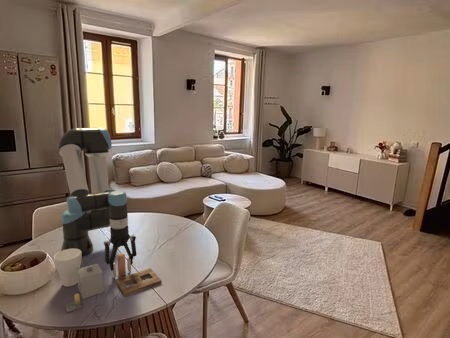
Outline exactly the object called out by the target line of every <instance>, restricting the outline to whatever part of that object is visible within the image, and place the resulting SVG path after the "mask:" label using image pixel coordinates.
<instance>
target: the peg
mask: <svg viewBox="0 0 450 338" xmlns="http://www.w3.org/2000/svg"><path fill="white" fill-rule="evenodd" d="M116 256H117V259H116V260H117V272H118V273H117V275H118V277H119V278H121V277H124V276H127V274H126V273H127V272H126V255H125V253H118V254H116Z"/></svg>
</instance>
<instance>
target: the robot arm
mask: <svg viewBox="0 0 450 338" xmlns="http://www.w3.org/2000/svg"><path fill="white" fill-rule="evenodd" d="M57 148H58V153H59V155H60V156H61V158H62V162H63V166H64V171H65V177H66V181H67V185H68V191H69V196H67V198H66V207H67V208H66V210H64V211H63V213H61V221H60V222H61V225H62V226H61V227H62V235H63V237H62V238H63V241H62V244H61V249H60V251H63V250H66V249H79V250H81V252H82V257H84V256H87V255H88V254H90V253H92V252H93V251H94V245H93V241H92V240H91V238H90V235H89V231H96V230H99V229H104V228H109V231H110V238H109V240H107V241H103V245H104V262H105V264H106V265H109V269H110V271H111V272H112V276H113V277H114V278H117V269H116V267H117V266H116V263H115V259H116V256H117V251H118V249H119V248H120V247H123V248H124V249H125V252H126V254H127V257H126V267H127V271H128V272H129V273H130V274H131V273H132V265H133V264H134V262H133V260H134V257H136V256H137V247H136V239H137V237H136V236H135V235H134V234H131V235H130V234H129V231H130V230H129V226H128V225H129V219H128V218H129V217H128V197H127V192H126V191H124V190H123V191H122V190H115V189H113V188H112V189H111V188H110V187H109V174H108V166H107V165H108V164H107V163H108V162H107V156H108V154H109V150H111V149H112V139H111V135H110V132H109V131H108V129H107V128H105V127H76V128H71V129H69V130H67V131H65V133H63V135H62V136H61V137H60V139H59V142H58V147H57ZM82 151H83V152H84V154H85V156H86V157H88V165H89V177H90V187H91V188H90V189H91V193H90V190H89V186H88V183H87V178H86V175H85V174H86V173H85V171H84V167H83V162H82V159H81V153H82ZM129 240H130V246H131V250H130V247H129V245H128V241H129ZM111 244H112V250H111V254H110V246H111Z"/></svg>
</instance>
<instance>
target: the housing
mask: <svg viewBox="0 0 450 338" xmlns="http://www.w3.org/2000/svg"><path fill="white" fill-rule="evenodd" d="M77 273H78V283H77V284H78V290H79V294H80V295H81V297H82V299H86V298H90V297H92V296H96V295H99V294H101V293H104V292H105V290H104V276H103V275H104V273H103V270H102V268H101V266H100V265H99V264H98V263H94V264H90V265H87V266H84V267H80V268H79V269H77Z"/></svg>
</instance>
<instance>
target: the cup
mask: <svg viewBox="0 0 450 338" xmlns="http://www.w3.org/2000/svg"><path fill="white" fill-rule="evenodd" d="M82 257H83V256H82V252H81V250H79V249H66V250H63V251H61V250H59V251H58V252H56V253H55V254H54V256H53V260H54V264H55V267H56V270H57V272H58V274H59V276H60V279H61V282H62V283H61V284H62V286H64V287H66V288H67V287H68V288H69V287H73V286H75V285H77V284H78V273H77V269H79V268H81V265H82Z"/></svg>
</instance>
